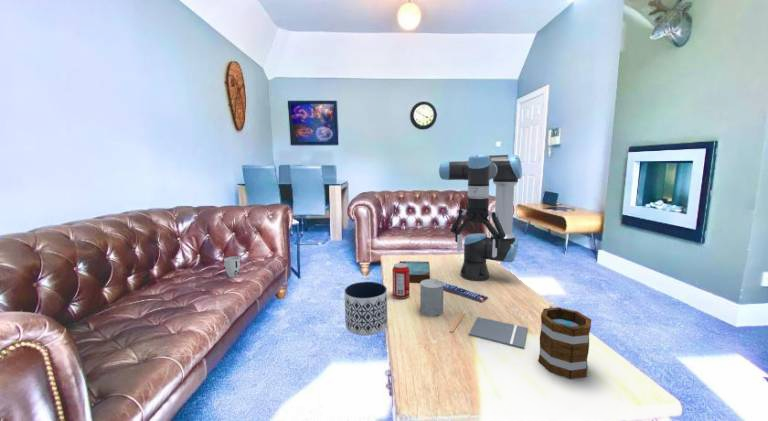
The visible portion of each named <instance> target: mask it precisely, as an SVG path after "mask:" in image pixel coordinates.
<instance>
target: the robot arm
mask: <svg viewBox="0 0 768 421" xmlns="http://www.w3.org/2000/svg"><path fill="white" fill-rule="evenodd" d="M522 172H523V168H522V161H521V158H520V156H519V155H517V154H498V155H496V154H495V155H494V154H493V155H492V154H491V155H489V154H472V155H470V156H469V157H468V160H457V161H449V160H448V161H443V162H441V163H440V164H439V168H438V175H439V178H440V179H441V180H445V181H450V180H451V181H467V197H468V198H467V203H466V206H467V208H466V209H464V208H461V209H459V210H458V216H457V217H456V218H455V221H454V223H453V225H452V227H451V229H450V232H451V233H454V234H455V240H454V242H455V243H457V244H456V252H461V251H463V263H462V266H461V268H460V271H459V272H460V273H459V275H460V277H461V278H463V279H465V280H468V281H473V282H475V281H476V282H481V281H486V280H488V279H490V272H489V269H488V268H489V267H488V265H487V260H488V261H495V262H496V261H497V262H501V263H502V262H503V263H513V262H514V261H515V259H516V257H517V252H518V248H519V241H518V240H517V239H516V235H515V234H514V233H513V225H514V224H513V223H514V222H513V219H514V200H515V198H514V197H515V185H517V184H518V183H519V180H520V179H522V176H523V173H522ZM490 180H492V183H493V184H494V185H495V198H494V199H495V206H494V211H491V212H489V204H490V203H489V201H490V199H489V196H490ZM465 215H466V216H467V218H466V219H465V221H463V223H462V224H461V222H462V220H463V218H464V216H465ZM489 216H490V218H491V219H492V222H493V224H494V225H492V223H491V221H490V220H489V218H488V217H489ZM470 223H477V224H483V226H485V227H486V228H487V231H489V233H490V237H489V236H488V234H487V233H479V232H478V233H470V234H468V235H466V236H465V237H464V242H463V233H462V232H463V231H464V229H466V228H467V226H468V225H469V224H470ZM460 224H461V225H460ZM462 249H463V250H462Z"/></svg>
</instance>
